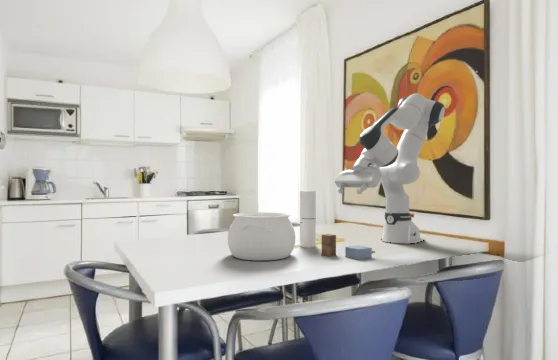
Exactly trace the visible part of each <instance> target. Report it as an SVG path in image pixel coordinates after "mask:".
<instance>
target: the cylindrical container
mask: <svg viewBox="0 0 558 360" xmlns="http://www.w3.org/2000/svg"><path fill="white" fill-rule="evenodd" d="M316 195H317V194H316V190H299V247H300V246H302V248H315V247H316V245H317V244H316V239H317V237H316V236H317V235H316V233H317V231H316V227H317V226H316V223H317V222H316V221H317V220H316V212H317V211H316V210H317V209H316V206H317V204H316V203H317V199H316Z"/></svg>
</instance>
